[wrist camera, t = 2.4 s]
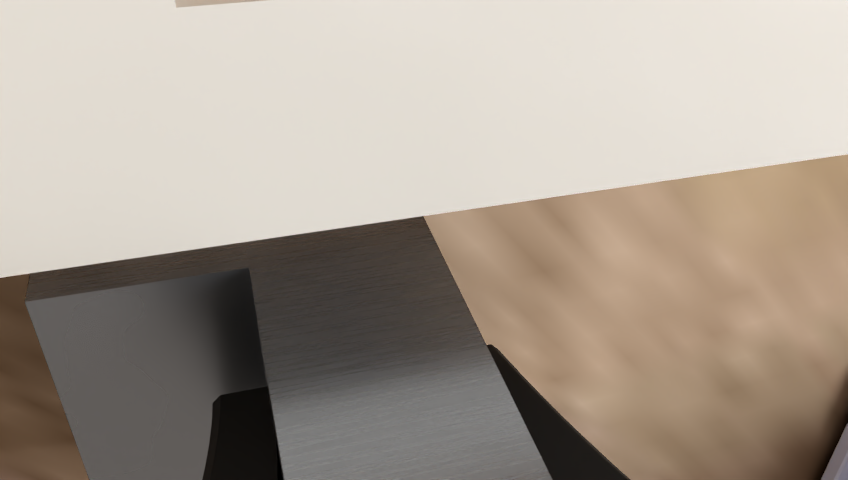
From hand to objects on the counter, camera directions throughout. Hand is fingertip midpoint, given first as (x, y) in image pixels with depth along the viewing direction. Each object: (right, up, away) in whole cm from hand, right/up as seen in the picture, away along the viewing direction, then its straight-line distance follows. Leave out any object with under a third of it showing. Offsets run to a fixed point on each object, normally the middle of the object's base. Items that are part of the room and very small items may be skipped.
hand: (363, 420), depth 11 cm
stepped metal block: (-2, +1, +2) cm, 3 cm away
